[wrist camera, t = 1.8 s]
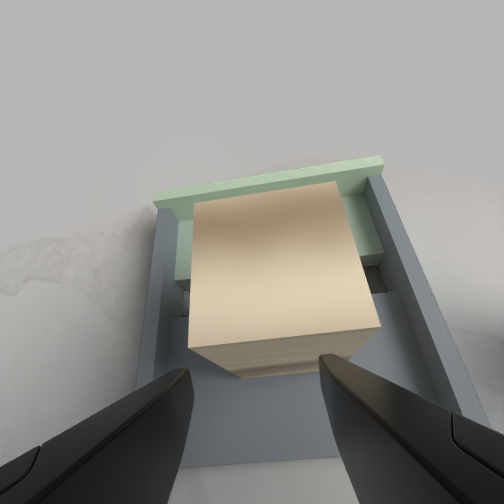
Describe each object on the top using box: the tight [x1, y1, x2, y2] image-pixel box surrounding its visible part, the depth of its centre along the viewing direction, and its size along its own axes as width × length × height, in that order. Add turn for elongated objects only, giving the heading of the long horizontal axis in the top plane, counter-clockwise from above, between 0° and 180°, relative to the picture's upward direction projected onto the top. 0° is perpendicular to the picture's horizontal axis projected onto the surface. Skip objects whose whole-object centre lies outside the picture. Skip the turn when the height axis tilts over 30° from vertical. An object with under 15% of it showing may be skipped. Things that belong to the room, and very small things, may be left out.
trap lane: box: [135, 155, 492, 468], centre depth 19 cm, size 18×18×5 cm
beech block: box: [188, 181, 381, 379], centre depth 14 cm, size 6×6×10 cm
